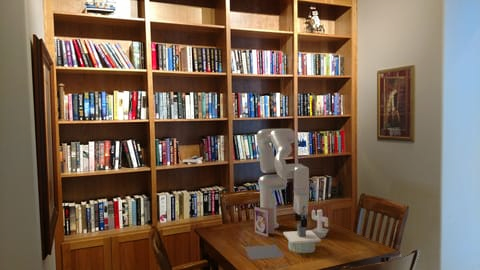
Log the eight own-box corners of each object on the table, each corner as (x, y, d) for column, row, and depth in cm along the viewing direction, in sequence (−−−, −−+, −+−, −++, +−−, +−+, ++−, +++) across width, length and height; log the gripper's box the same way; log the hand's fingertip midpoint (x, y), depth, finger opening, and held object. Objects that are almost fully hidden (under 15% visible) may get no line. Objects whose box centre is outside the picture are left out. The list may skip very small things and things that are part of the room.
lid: (283, 233, 199) (283, 220, 198) (310, 232, 201) (310, 219, 201) (291, 243, 184) (291, 229, 184) (321, 241, 186) (321, 227, 186)
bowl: (285, 245, 198) (285, 234, 198) (309, 243, 200) (309, 232, 200) (293, 254, 185) (293, 242, 185) (318, 252, 187) (318, 241, 187)
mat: (244, 247, 196) (244, 247, 196) (276, 245, 198) (276, 244, 198) (249, 260, 179) (249, 259, 179) (284, 257, 182) (284, 256, 182)
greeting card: (253, 232, 221) (253, 207, 220) (263, 230, 225) (263, 205, 224) (266, 237, 212) (266, 211, 211) (276, 234, 216) (276, 208, 215)
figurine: (324, 239, 206) (324, 212, 205) (309, 236, 212) (309, 210, 211) (330, 236, 212) (330, 209, 211) (315, 233, 218) (315, 207, 217)
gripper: (289, 187, 199) (289, 219, 201) (299, 195, 182) (299, 229, 184) (302, 186, 200) (302, 218, 202) (314, 194, 183) (313, 228, 185)
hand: (301, 223), depth 193 cm, fingers open, 9 cm apart
